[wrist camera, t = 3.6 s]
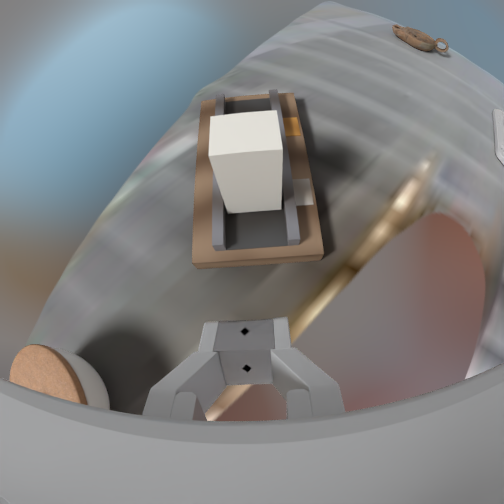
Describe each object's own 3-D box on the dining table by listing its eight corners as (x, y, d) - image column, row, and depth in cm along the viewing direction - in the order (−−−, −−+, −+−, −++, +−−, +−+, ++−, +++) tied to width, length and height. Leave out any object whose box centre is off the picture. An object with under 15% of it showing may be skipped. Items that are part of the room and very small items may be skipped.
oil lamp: (388, 38, 41) (392, 21, 36) (393, 29, 43) (397, 13, 38) (443, 65, 38) (450, 48, 33) (444, 54, 40) (450, 39, 35)
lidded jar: (81, 448, 22) (28, 467, 13) (43, 368, 25) (-13, 365, 16) (144, 423, 23) (93, 447, 14) (98, 332, 26) (39, 322, 17)
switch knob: (281, 209, 26) (282, 149, 18) (228, 213, 27) (208, 156, 18) (277, 174, 28) (276, 110, 19) (227, 178, 28) (210, 116, 20)
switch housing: (320, 260, 27) (326, 248, 24) (197, 269, 28) (187, 258, 24) (292, 103, 34) (293, 84, 31) (204, 111, 35) (199, 93, 32)
